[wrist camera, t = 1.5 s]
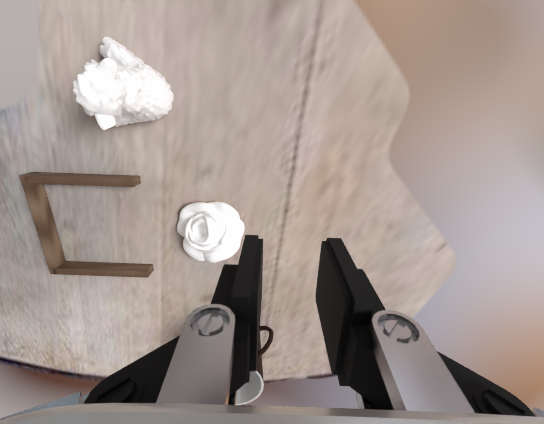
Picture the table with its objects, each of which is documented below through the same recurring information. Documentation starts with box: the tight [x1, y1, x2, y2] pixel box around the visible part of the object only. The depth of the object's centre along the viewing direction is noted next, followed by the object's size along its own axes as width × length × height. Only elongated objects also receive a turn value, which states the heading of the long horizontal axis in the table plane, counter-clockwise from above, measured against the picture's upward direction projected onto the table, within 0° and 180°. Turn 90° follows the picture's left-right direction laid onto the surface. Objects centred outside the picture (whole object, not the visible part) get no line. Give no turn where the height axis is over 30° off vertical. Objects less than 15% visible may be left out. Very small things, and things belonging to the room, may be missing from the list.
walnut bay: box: [19, 172, 154, 277], centre depth 37 cm, size 15×14×2 cm
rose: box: [177, 201, 244, 263], centre depth 36 cm, size 10×4×10 cm
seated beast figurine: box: [72, 37, 174, 130], centre depth 26 cm, size 10×9×12 cm
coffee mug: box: [236, 326, 273, 405], centre depth 40 cm, size 12×9×10 cm
